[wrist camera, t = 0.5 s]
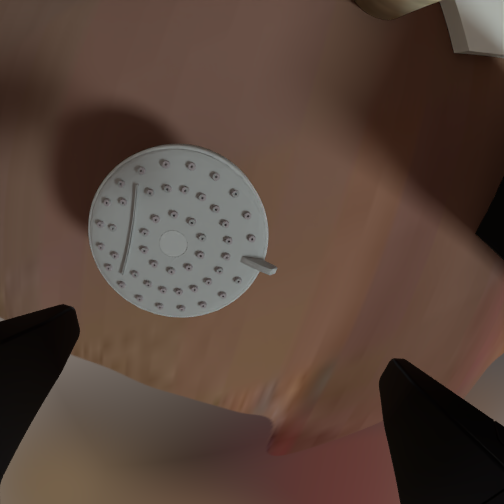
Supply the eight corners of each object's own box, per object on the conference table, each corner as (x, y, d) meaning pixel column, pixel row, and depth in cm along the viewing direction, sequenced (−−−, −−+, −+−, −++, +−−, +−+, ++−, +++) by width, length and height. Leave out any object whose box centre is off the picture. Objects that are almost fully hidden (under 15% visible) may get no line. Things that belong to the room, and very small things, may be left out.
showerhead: (249, 345, 18) (76, 304, 16) (241, 282, 24) (112, 251, 22) (310, 183, 14) (95, 128, 12) (281, 161, 21) (136, 123, 19)
